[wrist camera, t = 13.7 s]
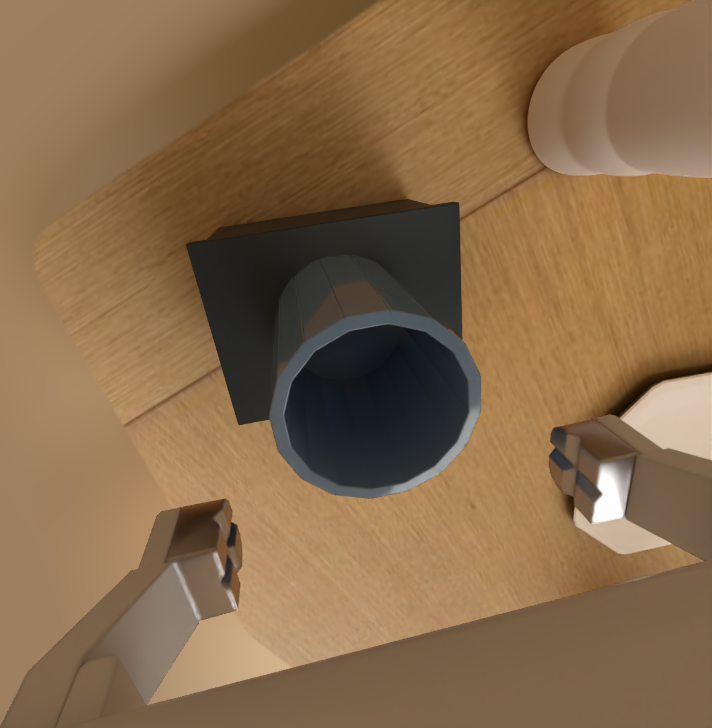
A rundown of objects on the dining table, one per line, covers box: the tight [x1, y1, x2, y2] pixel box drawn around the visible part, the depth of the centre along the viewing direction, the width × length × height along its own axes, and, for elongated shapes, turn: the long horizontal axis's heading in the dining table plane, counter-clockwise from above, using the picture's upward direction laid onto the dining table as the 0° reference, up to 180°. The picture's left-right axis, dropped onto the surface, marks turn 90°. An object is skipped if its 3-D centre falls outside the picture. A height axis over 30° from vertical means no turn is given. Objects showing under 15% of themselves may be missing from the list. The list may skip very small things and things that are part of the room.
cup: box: [269, 254, 481, 499], centre depth 18 cm, size 7×7×9 cm
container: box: [186, 199, 462, 425], centre depth 25 cm, size 13×10×8 cm
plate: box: [572, 371, 712, 554], centre depth 40 cm, size 20×20×2 cm
